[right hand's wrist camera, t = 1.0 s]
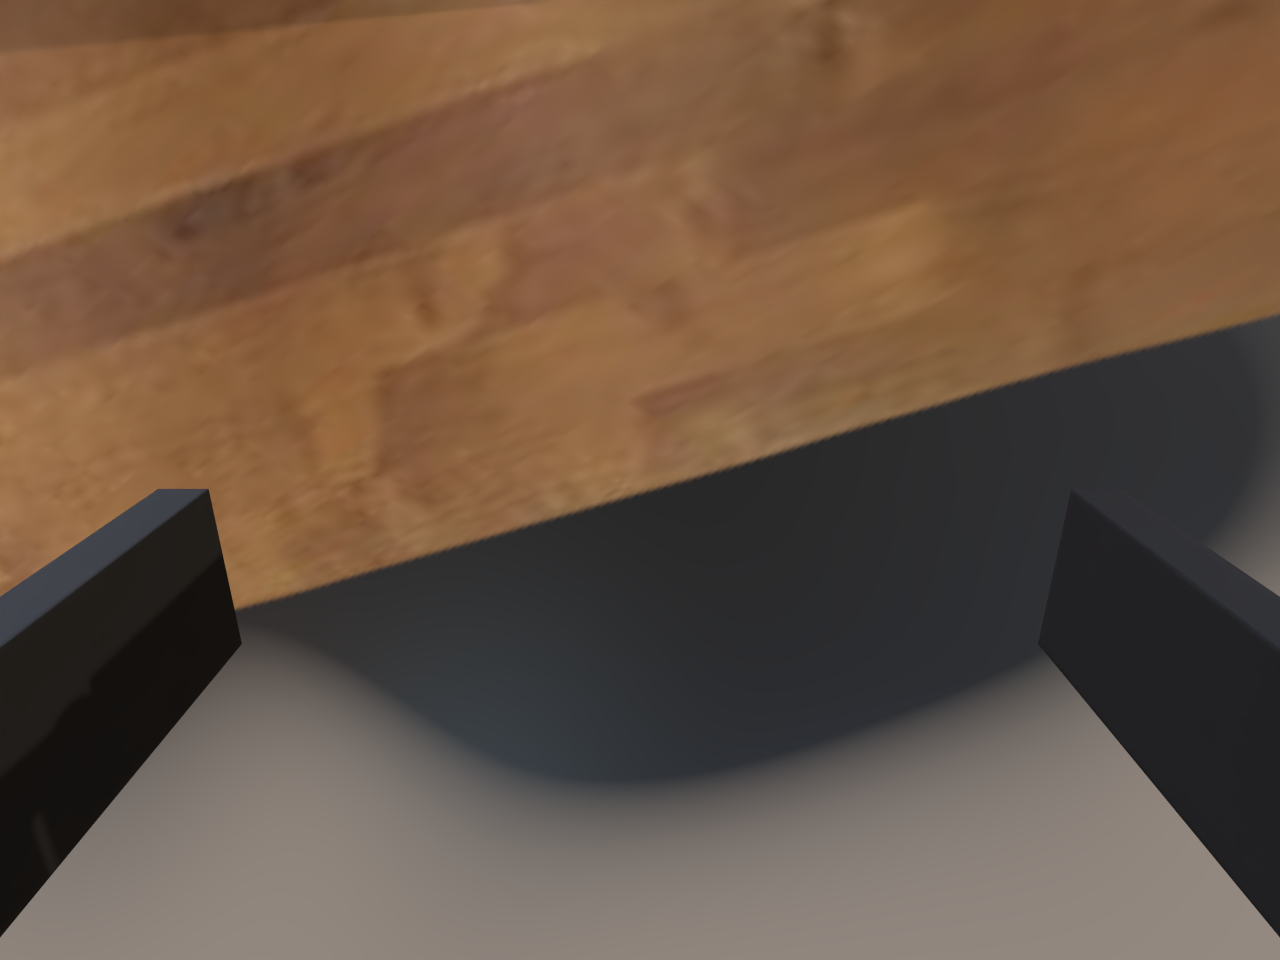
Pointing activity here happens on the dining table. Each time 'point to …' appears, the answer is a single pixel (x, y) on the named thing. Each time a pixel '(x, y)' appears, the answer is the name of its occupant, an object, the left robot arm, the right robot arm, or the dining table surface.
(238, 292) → the dining table surface
